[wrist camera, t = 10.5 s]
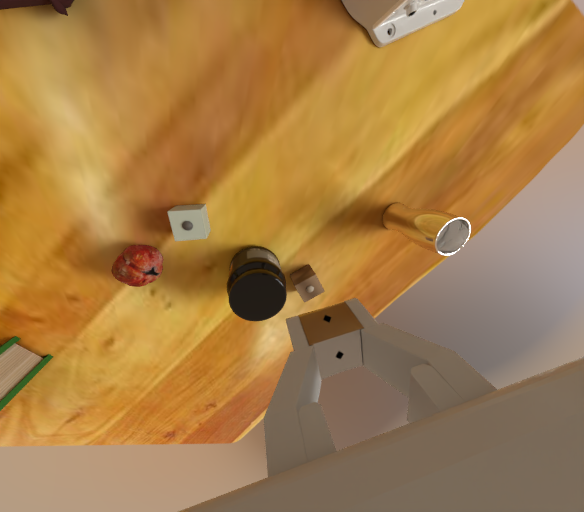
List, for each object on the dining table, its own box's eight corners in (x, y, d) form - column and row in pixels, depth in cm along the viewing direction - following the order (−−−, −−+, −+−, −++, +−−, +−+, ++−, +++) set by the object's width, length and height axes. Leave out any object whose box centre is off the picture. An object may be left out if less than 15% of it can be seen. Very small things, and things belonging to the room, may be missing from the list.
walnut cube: (308, 264, 48) (315, 274, 44) (317, 279, 51) (324, 291, 46) (289, 274, 48) (294, 286, 44) (299, 290, 51) (304, 303, 46)
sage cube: (205, 203, 39) (200, 209, 34) (210, 230, 41) (206, 239, 36) (176, 205, 38) (167, 211, 33) (182, 232, 40) (174, 241, 35)
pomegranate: (135, 268, 43) (169, 293, 40) (91, 272, 36) (128, 302, 33) (146, 235, 42) (182, 258, 39) (102, 232, 35) (141, 260, 32)
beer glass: (413, 209, 48) (479, 227, 35) (395, 235, 50) (451, 262, 37) (393, 194, 46) (455, 208, 32) (374, 223, 48) (426, 247, 34)
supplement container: (229, 287, 47) (224, 325, 36) (230, 242, 43) (225, 269, 32) (276, 288, 49) (285, 323, 38) (281, 245, 45) (293, 271, 34)
